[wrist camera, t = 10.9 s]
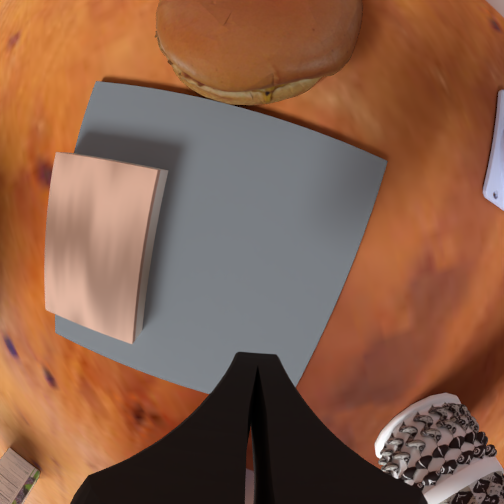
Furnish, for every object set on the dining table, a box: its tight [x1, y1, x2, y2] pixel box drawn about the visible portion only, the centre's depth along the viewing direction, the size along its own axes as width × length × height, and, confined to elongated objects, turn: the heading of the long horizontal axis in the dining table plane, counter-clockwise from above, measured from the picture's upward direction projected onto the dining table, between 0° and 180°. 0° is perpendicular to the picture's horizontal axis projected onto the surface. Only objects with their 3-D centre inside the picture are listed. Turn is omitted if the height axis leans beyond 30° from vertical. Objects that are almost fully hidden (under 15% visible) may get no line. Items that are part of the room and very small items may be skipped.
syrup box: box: [0, 448, 40, 504], centre depth 17 cm, size 6×6×14 cm
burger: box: [155, 0, 363, 105], centre depth 10 cm, size 10×9×5 cm
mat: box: [55, 81, 388, 394], centre depth 15 cm, size 16×16×1 cm
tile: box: [45, 152, 168, 344], centre depth 14 cm, size 9×2×6 cm
